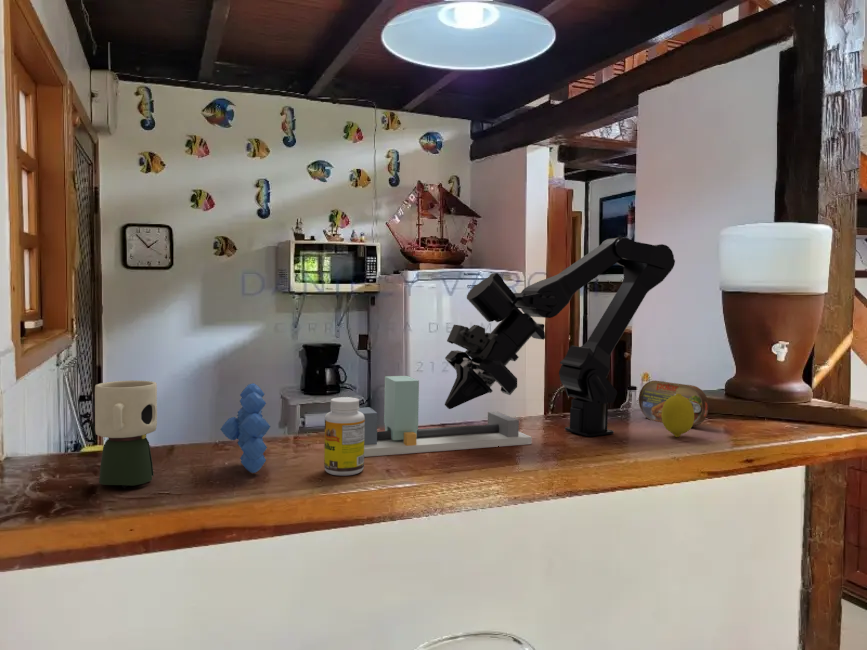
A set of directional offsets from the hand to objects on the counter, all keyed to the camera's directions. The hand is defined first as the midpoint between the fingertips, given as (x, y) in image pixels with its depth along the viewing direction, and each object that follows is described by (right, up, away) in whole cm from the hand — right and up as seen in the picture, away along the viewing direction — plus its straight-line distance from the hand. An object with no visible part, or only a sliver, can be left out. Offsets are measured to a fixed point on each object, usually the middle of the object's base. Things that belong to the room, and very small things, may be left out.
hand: (446, 407), depth 104 cm
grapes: (-29, -7, -18) cm, 34 cm away
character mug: (-42, -7, -25) cm, 49 cm away
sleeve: (-8, -4, -3) cm, 9 cm away
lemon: (+42, -7, +8) cm, 43 cm away
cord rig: (-1, -6, 0) cm, 6 cm away
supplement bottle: (-15, -7, -18) cm, 24 cm away
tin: (+46, -6, +21) cm, 51 cm away
